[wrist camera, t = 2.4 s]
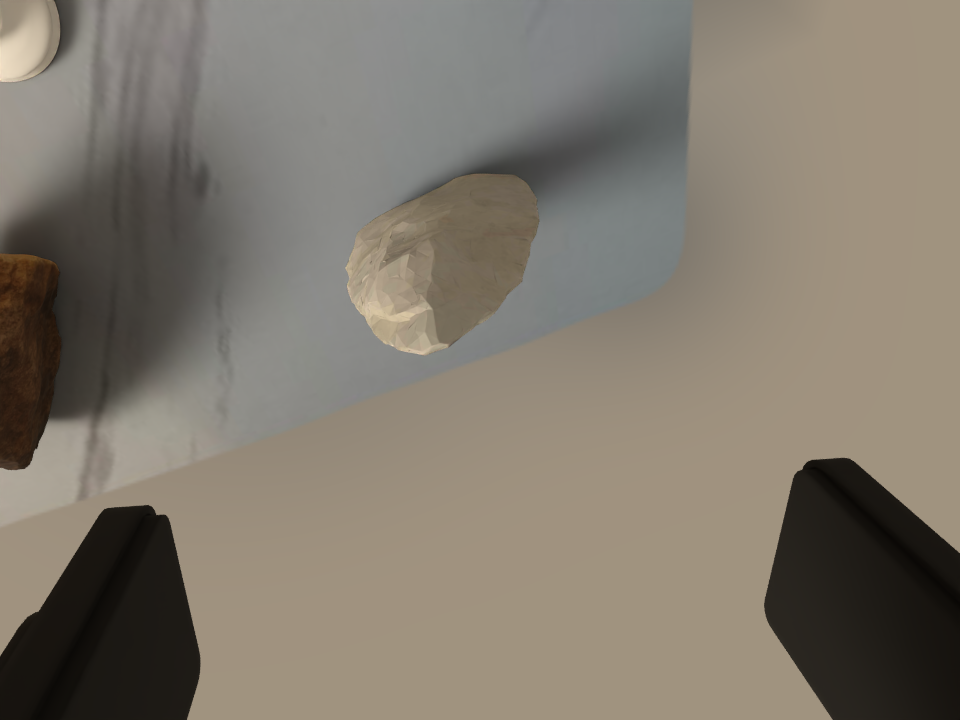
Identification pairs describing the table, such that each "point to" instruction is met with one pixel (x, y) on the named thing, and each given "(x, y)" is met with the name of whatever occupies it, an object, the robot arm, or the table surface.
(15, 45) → the chess piece
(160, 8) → the table surface
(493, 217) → the stone tool
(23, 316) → the decorative rock
